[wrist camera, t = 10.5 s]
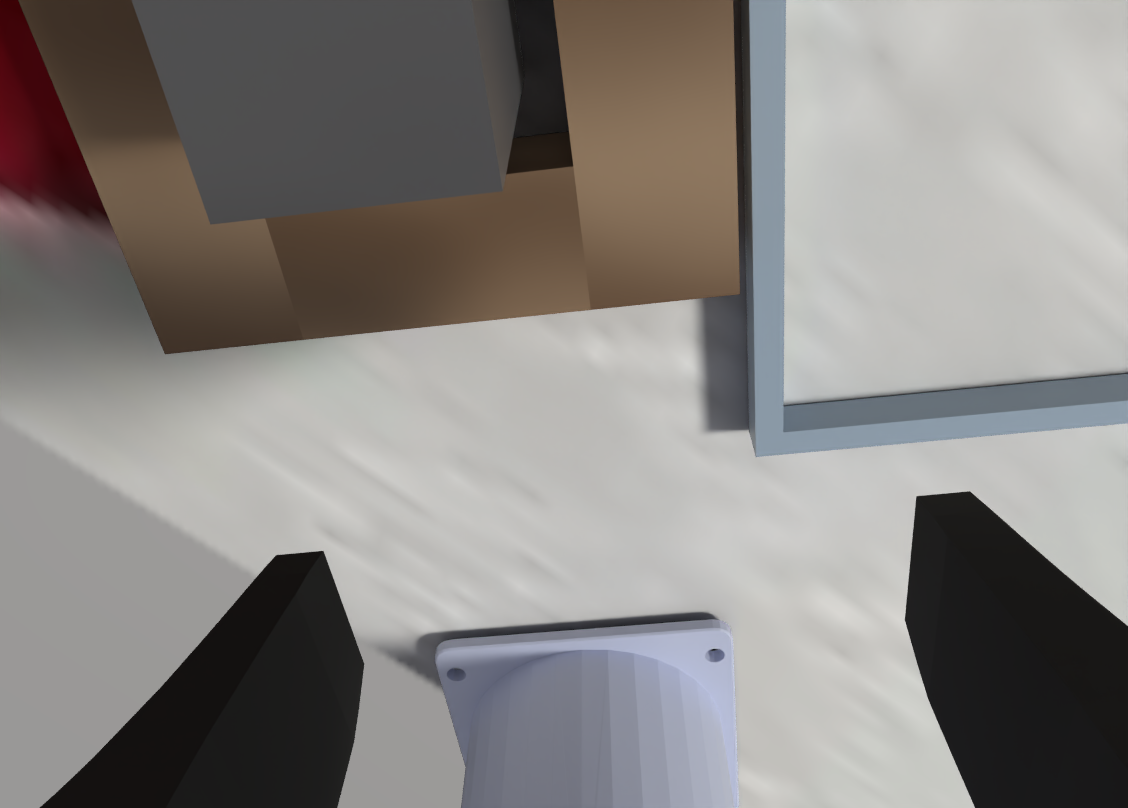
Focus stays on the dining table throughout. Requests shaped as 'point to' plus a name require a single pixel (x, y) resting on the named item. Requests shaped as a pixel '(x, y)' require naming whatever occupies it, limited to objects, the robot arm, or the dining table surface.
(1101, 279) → the dining table surface
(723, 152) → the socket block
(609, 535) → the dining table surface
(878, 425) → the frame
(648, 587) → the dining table surface
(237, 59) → the plug
